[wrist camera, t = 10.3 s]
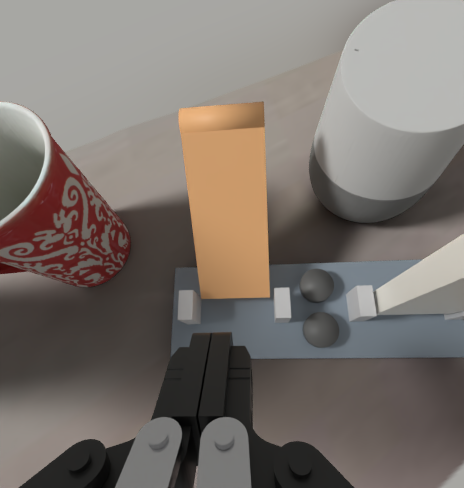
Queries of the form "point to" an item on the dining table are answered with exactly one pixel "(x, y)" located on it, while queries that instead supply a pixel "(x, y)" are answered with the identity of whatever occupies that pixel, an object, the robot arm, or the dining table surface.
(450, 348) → the paddle holder
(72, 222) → the mug
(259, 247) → the orange paddle
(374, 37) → the smart speaker
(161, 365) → the dining table surface
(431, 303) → the cream paddle
